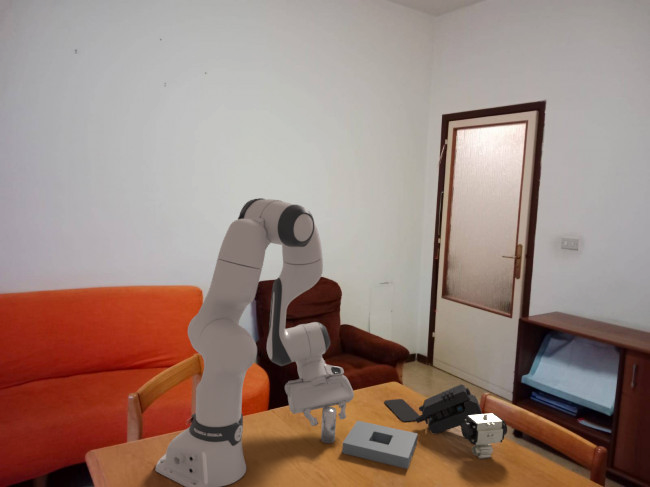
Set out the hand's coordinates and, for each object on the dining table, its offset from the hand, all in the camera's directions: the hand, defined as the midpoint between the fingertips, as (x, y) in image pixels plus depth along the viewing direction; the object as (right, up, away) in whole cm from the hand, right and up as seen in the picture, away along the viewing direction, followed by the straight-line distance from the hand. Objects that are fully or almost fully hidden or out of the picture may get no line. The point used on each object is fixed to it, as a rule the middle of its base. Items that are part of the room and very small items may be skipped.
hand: (329, 421), depth 136 cm
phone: (+24, -5, +21) cm, 33 cm away
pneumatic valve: (+42, -8, -4) cm, 43 cm away
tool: (+37, -7, +8) cm, 38 cm away
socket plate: (+14, -6, -3) cm, 16 cm away
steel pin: (0, -5, +1) cm, 6 cm away
